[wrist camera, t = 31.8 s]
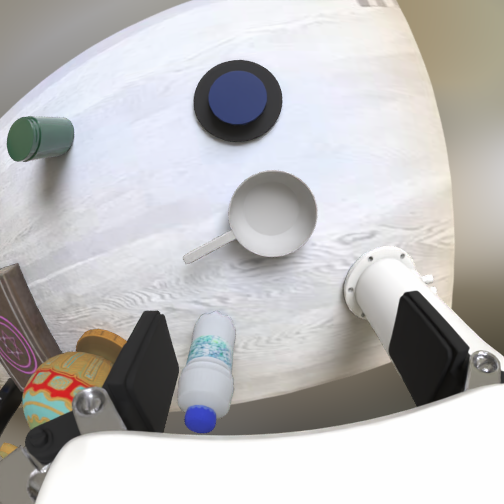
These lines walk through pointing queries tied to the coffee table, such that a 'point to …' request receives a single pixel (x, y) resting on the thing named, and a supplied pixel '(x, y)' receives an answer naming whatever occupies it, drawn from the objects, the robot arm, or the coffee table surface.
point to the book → (22, 329)
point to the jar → (39, 138)
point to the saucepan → (267, 216)
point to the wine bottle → (9, 402)
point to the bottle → (208, 373)
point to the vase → (68, 378)
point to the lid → (237, 97)
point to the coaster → (244, 131)
